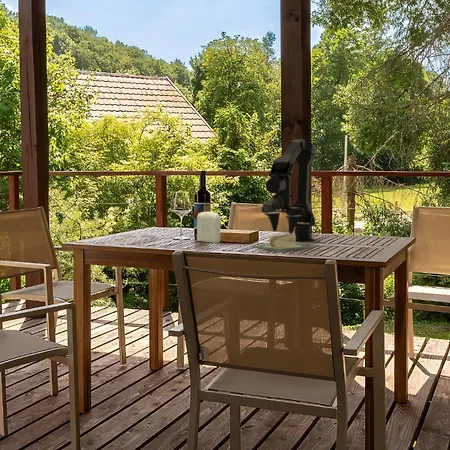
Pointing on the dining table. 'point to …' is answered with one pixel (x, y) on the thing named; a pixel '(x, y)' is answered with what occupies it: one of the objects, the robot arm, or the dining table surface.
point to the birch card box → (282, 241)
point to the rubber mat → (267, 247)
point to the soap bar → (208, 227)
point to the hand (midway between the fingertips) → (282, 232)
